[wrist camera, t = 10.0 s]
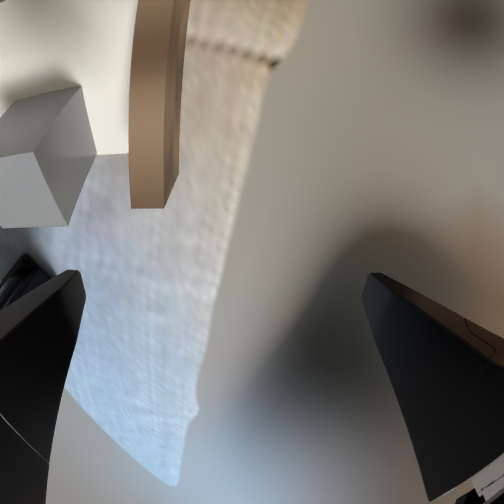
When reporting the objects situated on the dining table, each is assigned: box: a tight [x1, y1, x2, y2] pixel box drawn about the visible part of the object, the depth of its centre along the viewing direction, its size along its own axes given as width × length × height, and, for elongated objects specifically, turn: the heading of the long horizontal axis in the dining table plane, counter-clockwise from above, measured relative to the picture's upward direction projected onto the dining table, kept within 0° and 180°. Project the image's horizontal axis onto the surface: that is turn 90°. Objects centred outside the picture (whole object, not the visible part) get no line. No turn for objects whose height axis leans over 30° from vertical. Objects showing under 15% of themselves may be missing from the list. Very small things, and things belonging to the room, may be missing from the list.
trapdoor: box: [0, 0, 138, 155], centre depth 11 cm, size 14×12×2 cm
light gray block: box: [0, 86, 97, 228], centre depth 13 cm, size 5×5×6 cm
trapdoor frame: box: [128, 0, 190, 209], centre depth 11 cm, size 15×16×7 cm
